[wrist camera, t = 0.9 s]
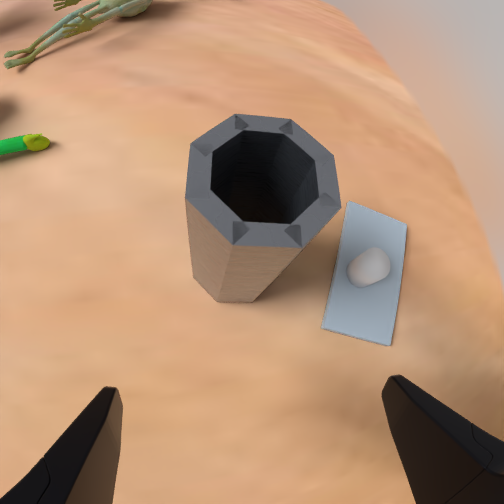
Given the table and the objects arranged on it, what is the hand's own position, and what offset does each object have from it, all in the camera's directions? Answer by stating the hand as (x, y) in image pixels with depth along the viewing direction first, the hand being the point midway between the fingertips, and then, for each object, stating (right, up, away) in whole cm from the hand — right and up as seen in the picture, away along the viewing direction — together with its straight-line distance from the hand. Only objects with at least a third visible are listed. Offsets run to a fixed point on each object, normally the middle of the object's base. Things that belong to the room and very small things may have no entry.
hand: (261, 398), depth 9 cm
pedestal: (+9, +3, +16) cm, 19 cm away
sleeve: (-2, +4, +15) cm, 15 cm away
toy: (-20, +35, +23) cm, 46 cm away
